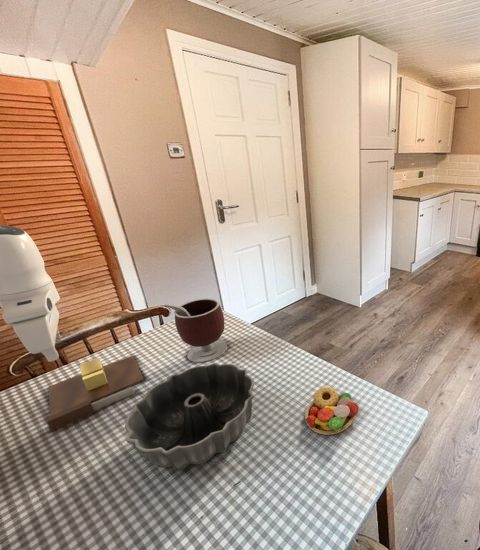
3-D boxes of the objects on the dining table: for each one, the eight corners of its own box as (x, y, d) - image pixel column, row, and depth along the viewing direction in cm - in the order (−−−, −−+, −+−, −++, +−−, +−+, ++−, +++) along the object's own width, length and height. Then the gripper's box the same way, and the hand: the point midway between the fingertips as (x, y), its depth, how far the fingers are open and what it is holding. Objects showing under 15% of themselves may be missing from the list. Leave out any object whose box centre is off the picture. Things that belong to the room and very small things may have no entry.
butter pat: (87, 391, 85) (82, 380, 84) (87, 388, 86) (82, 377, 85) (107, 383, 88) (103, 372, 87) (107, 380, 89) (102, 369, 88)
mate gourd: (229, 336, 112) (219, 287, 105) (230, 357, 100) (219, 304, 93) (182, 346, 106) (167, 295, 99) (176, 370, 95) (160, 314, 87)
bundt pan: (205, 503, 59) (194, 467, 55) (107, 465, 66) (91, 432, 62) (279, 403, 82) (275, 373, 78) (201, 383, 89) (194, 355, 86)
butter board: (51, 421, 77) (43, 406, 75) (49, 389, 87) (42, 375, 86) (144, 381, 90) (139, 367, 88) (133, 358, 101) (128, 345, 99)
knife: (52, 432, 74) (46, 422, 72) (52, 427, 75) (46, 417, 74) (136, 395, 85) (132, 385, 84) (134, 391, 86) (130, 382, 85)
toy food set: (321, 391, 86) (321, 382, 85) (364, 403, 82) (364, 394, 80) (295, 428, 75) (294, 418, 73) (344, 445, 70) (343, 435, 69)
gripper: (17, 288, 73) (41, 336, 78) (0, 320, 58) (31, 377, 64) (53, 280, 76) (74, 327, 82) (46, 309, 62) (71, 364, 67)
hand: (55, 349), depth 72 cm, fingers open, 8 cm apart
